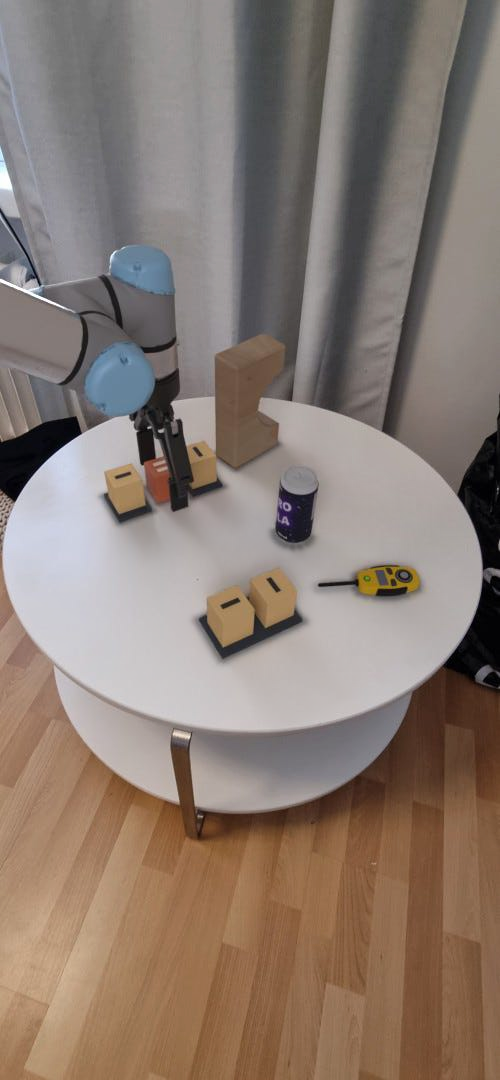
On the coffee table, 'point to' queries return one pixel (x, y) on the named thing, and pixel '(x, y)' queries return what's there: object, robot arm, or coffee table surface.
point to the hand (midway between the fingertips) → (163, 484)
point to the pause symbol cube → (157, 479)
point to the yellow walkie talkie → (383, 581)
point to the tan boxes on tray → (250, 613)
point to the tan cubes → (130, 492)
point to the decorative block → (245, 398)
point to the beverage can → (296, 503)
